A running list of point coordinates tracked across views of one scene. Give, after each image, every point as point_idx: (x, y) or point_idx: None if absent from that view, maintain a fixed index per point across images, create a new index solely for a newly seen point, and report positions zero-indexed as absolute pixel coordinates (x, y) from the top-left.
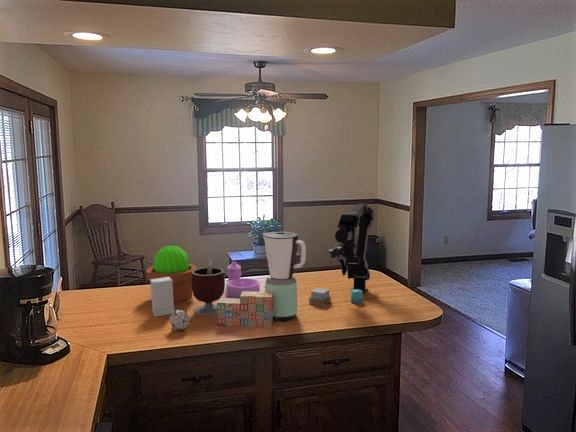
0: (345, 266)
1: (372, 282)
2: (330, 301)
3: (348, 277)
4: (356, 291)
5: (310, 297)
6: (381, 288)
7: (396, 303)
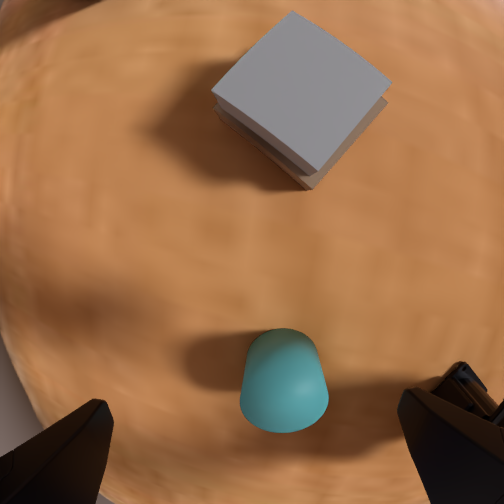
0: (456, 496)
1: None
2: (304, 187)
3: (84, 408)
4: (273, 399)
5: None
6: None
7: (227, 487)
